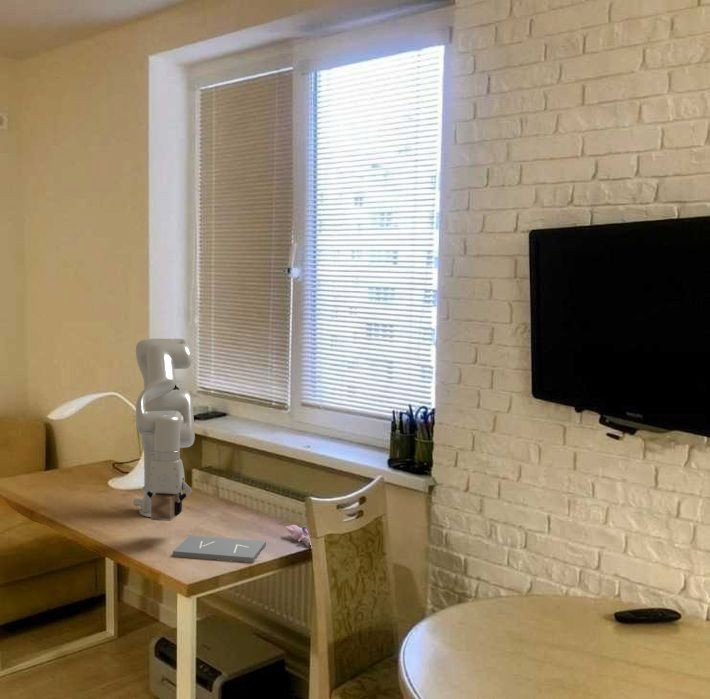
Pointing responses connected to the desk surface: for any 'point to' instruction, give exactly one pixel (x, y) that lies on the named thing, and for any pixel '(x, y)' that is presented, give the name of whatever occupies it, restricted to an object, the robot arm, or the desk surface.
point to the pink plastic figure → (299, 534)
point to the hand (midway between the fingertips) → (167, 513)
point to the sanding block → (163, 507)
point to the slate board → (219, 548)
